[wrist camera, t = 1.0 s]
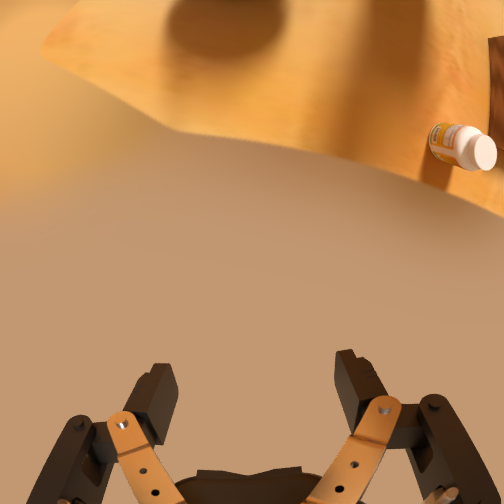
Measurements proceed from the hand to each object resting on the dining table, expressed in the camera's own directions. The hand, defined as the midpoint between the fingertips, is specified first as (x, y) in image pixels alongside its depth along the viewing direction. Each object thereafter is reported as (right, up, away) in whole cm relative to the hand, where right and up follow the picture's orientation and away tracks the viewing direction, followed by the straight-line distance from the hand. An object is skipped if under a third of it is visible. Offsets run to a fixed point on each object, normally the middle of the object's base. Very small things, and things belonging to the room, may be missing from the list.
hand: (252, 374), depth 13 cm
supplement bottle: (+26, +21, +17) cm, 37 cm away
